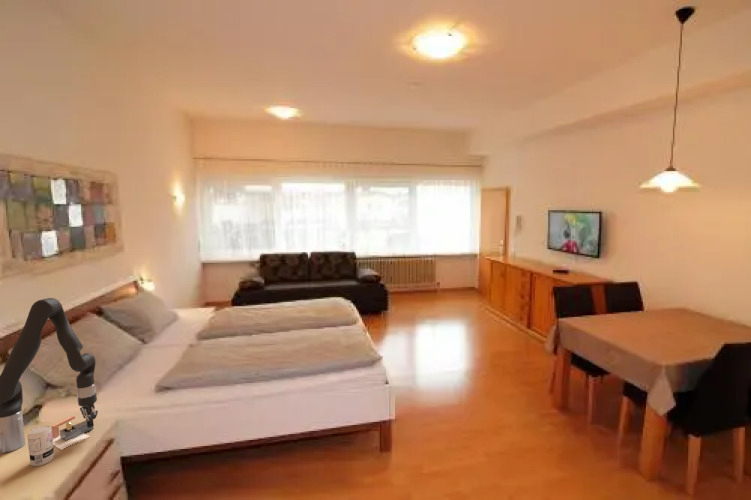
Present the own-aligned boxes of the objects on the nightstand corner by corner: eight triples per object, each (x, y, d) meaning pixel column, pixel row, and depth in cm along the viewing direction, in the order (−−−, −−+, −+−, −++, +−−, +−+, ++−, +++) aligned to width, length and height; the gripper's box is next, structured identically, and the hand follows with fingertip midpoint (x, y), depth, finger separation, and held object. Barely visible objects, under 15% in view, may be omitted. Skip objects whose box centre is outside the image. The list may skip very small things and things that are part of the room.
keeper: (55, 438, 190) (54, 426, 190) (52, 438, 191) (51, 425, 190) (75, 427, 200) (74, 416, 200) (73, 427, 201) (72, 415, 200)
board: (61, 450, 181) (61, 449, 181) (44, 440, 190) (44, 439, 189) (89, 437, 191) (89, 436, 191) (72, 428, 200) (72, 427, 200)
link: (66, 441, 187) (65, 433, 187) (60, 438, 190) (59, 430, 190) (94, 429, 198) (93, 421, 198) (88, 426, 201) (88, 419, 200)
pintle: (68, 439, 190) (67, 424, 189) (66, 438, 191) (65, 423, 190) (73, 437, 192) (71, 422, 191) (71, 436, 192) (70, 421, 192)
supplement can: (29, 461, 172) (26, 430, 171) (53, 453, 179) (50, 422, 177) (31, 469, 167) (28, 437, 166) (55, 460, 173) (52, 429, 172)
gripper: (71, 394, 191) (75, 427, 192) (85, 399, 184) (88, 433, 186) (88, 388, 197) (92, 420, 199) (102, 393, 191) (105, 426, 192)
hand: (90, 426), depth 192 cm, fingers closed
